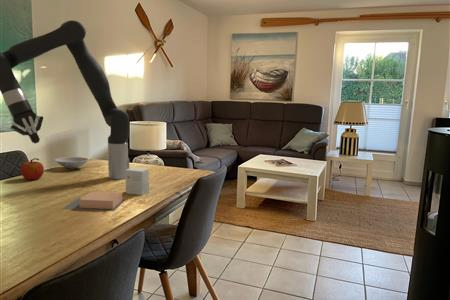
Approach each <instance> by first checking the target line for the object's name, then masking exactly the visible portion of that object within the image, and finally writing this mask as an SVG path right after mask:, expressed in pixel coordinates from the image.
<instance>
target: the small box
mask: <svg viewBox="0 0 450 300" xmlns="http://www.w3.org/2000/svg"><path fill="white" fill-rule="evenodd" d="M124 180H125V193H126V194H130V195H132V194H133V195H138V196H144V195H148V194H150V169H149V168H144V167H129V169H126V170H125V179H124Z"/></svg>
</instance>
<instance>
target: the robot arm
mask: <svg viewBox="0 0 450 300" xmlns="http://www.w3.org/2000/svg"><path fill="white" fill-rule="evenodd" d="M86 34H87V33H86V28H85V26H84V24H82V23H81V22H79V21H77V20H67V21H65V22H63V23H62V24H61V25H60V26H59V27H58V28H56V29H53V30H51V31H50V32H47V33H45V34H42V35H38V36H37V37H33V38H30V39H26V40H24V41H21V42H19V43H16V44H14V45H12V46H10V47H9V49H8V50H5V51H3V52H1V51H0V92H1V95H2V97H3V98H2V99H3V101H4V103H5V106H7V109H8V110H9V111H8V112H9V113H10V115H11V116H12V117H11V118H12V122H13V123H12V124H11V126H10V127H9V128H10V130H12V131H14V132H16V133H18V134H20V135H22V136H28V138H29V139H30V141H31V143H32V144H38V143H40V140H41V138H40V137H39V135H38V132H39V131H40V130H41V128H42V124H43V121H44V116H42V115H41V116H40V115H38V114H36V113H35V112H34V110H33V109H32V106H31V104H30V102H29V100H28V98H27V96H26V94H25V93H24V90H23V89H22V87H21V85H20V83H19V81H18V79H17V78H16V76H15V74H14V72H13V68H15V67H17V66H19V65H20V64H22V63H25V62H28V61H30V60H32V59H35V58H37V57H40V56H41V55H43V54H45V53H48V52H51V51H52V50H54V49H57V48H59V47H63V46H65V47H66V48H67V49H68V50H69V52H70V53H71V55H72V57H73V59H74V61H75V63H76V66H77V68H78V69H79V72H80V74H81V75H82V77H83V80H84V82H85V84H86V85H87V87H88V89H89V91H90V92H91V94H92V96H93V98H94V100H95V101H96V103H97V105H98V106H99V109H100V112H101V114H102V116H103V119H104V121H105V124H107V126H108V127H110V134H109V135H108V137H107V155H108V156H107V157H108V158H107V161H108V162H107V164H108V166H107V167H108V172H107V173H108V179H111V180H126V179H125V170H126V169H129V168H130V158H129V149H128V147H129V143H128V142H129V141H128V140H129V136H130V115H129V114H128V112H126V111H125V110H123V109H119V108H118V106H117V105H116V103H115V101H114V99H113V97H112V93H111V87H110V83H109V79H108V78H107V75H106V74H105V72H104V70H103V68H102V66H101V65H100V63H99V62H98V61H97V60H96V58H95V57H94V56H93V55H92V54H91V52H90V50H89V49H88V47H87V45H86V42H85V38H86ZM35 122H36V125H35ZM20 127H21V128H20ZM22 128H23V129H22Z"/></svg>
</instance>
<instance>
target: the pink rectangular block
mask: <svg viewBox="0 0 450 300" xmlns="http://www.w3.org/2000/svg"><path fill="white" fill-rule="evenodd" d="M80 198H81V199H79V205H80V208H98V209H114V208H115V207H116V206H117V205H118V204H119V203H120V202H121V201H122V200H123V193H122V192H110V191H107V192H106V191H104V192H103V191H90V192H88V193H87V194H85V195H84V196H83V197H80Z"/></svg>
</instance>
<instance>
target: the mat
mask: <svg viewBox="0 0 450 300" xmlns="http://www.w3.org/2000/svg"><path fill="white" fill-rule="evenodd" d="M81 198H82V197H78V198H76V199H75V200H73V201H72V202H70V203H68V204H67V205H65V206H64V207H62V208H61V209H62V210H80V211H81V210H82V211H101V212H103V211H105V212H115V211H116V210H117V209H118V208H119V207H120V206H121V205H122V204H124V202H125V201H126V199H122V201H121V202H120V203H119V204H118V205H117V206H116V207H115V208H114V209H98V208H80V205H79V199H81Z"/></svg>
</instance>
